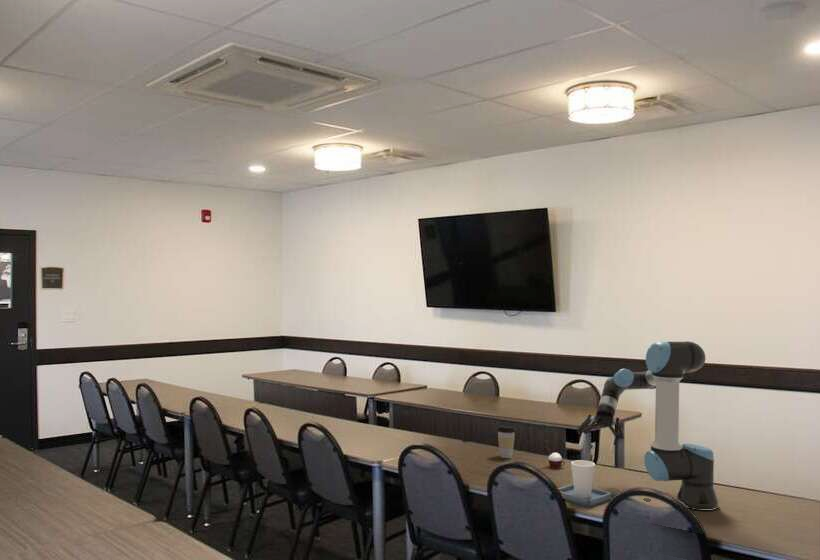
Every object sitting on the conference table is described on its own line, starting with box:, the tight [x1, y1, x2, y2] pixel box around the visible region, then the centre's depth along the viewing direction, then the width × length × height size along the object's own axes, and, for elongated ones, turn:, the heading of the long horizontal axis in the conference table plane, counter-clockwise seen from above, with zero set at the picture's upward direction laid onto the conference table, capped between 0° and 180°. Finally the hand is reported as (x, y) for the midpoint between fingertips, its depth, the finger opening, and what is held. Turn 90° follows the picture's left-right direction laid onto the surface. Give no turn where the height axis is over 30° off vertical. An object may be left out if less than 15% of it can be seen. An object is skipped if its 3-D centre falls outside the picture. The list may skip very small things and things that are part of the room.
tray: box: [557, 483, 614, 508], centre depth 278 cm, size 18×16×2 cm
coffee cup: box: [496, 424, 517, 459], centre depth 342 cm, size 9×9×15 cm
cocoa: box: [544, 439, 566, 469], centre depth 324 cm, size 10×6×12 cm, turn 40°
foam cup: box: [570, 459, 596, 498], centre depth 278 cm, size 10×9×13 cm
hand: (595, 449), depth 291 cm, fingers open, 13 cm apart
